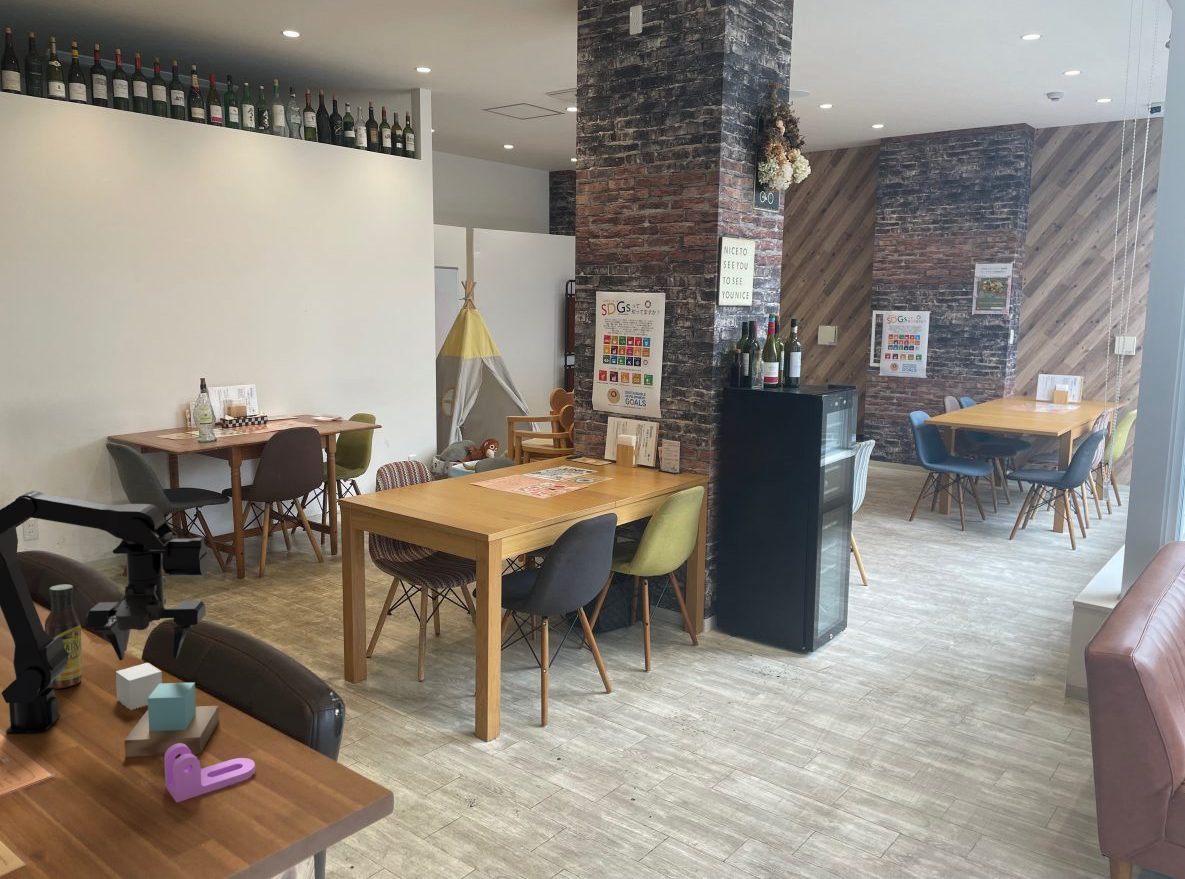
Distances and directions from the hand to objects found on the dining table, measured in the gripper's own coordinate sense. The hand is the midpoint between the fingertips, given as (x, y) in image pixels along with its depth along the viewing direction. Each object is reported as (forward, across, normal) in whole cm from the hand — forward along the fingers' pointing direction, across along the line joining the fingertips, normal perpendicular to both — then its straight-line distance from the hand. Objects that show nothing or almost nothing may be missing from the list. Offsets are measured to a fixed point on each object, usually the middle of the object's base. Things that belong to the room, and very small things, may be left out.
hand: (148, 658), depth 161 cm
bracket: (+12, +16, -22) cm, 30 cm away
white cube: (+12, -5, +9) cm, 16 cm away
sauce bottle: (+12, -22, +18) cm, 31 cm away
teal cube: (+9, +6, -7) cm, 13 cm away
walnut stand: (+12, +6, -7) cm, 15 cm away
